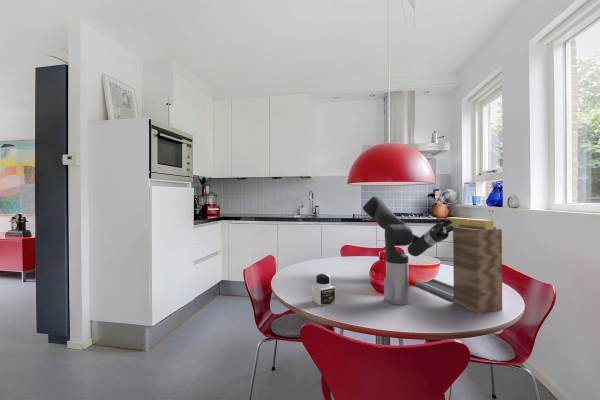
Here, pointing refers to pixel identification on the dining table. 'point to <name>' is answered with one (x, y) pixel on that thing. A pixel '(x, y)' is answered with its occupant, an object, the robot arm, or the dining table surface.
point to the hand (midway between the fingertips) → (458, 220)
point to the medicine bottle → (323, 290)
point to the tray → (438, 288)
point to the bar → (471, 222)
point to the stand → (477, 268)
